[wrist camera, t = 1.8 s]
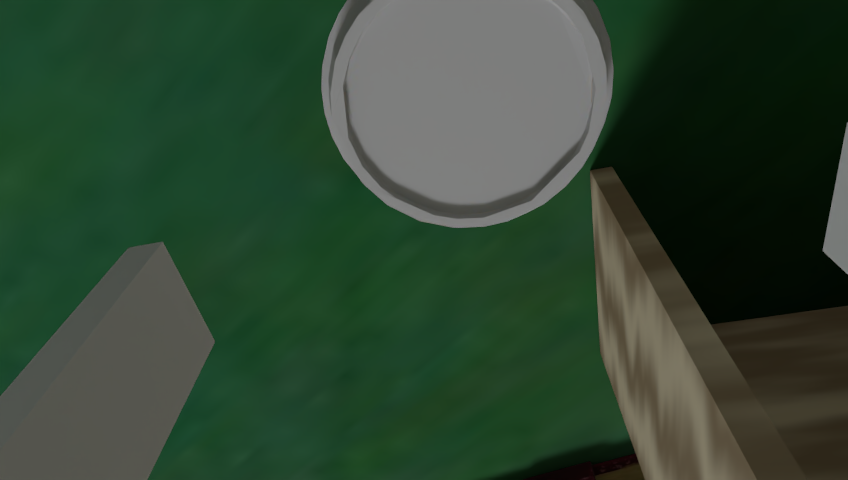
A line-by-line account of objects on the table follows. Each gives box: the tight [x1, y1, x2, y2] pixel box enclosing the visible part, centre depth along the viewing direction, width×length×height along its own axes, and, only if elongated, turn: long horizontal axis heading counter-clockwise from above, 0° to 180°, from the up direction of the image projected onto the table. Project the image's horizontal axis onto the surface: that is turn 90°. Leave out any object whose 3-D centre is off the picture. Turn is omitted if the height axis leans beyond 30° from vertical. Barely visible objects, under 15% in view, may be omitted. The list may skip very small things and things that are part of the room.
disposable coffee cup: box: [321, 0, 613, 228], centre depth 23 cm, size 10×10×12 cm
